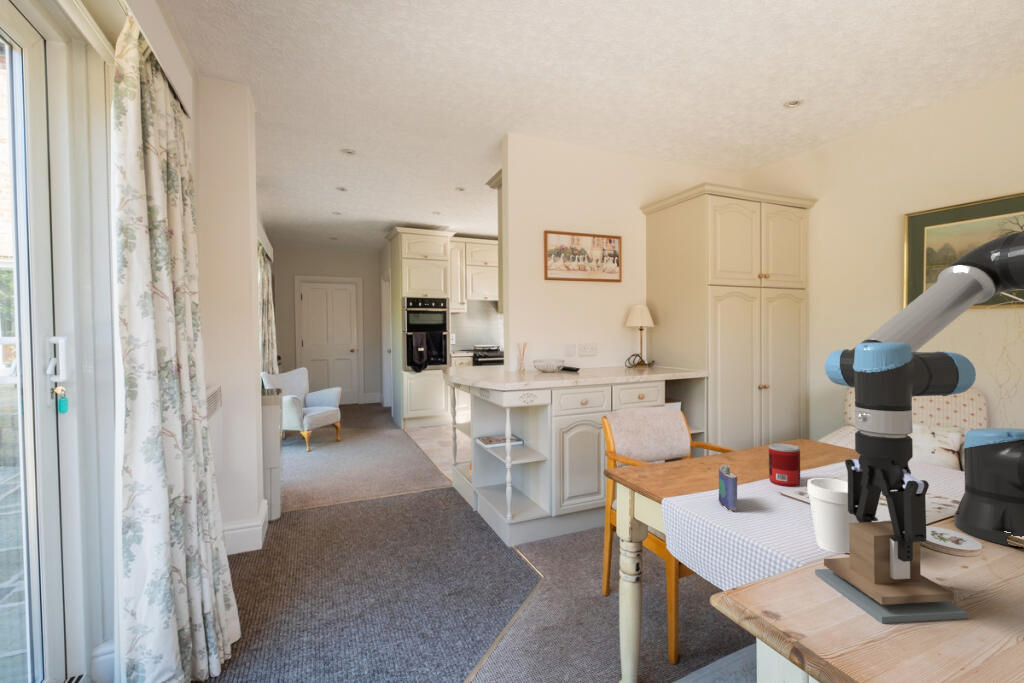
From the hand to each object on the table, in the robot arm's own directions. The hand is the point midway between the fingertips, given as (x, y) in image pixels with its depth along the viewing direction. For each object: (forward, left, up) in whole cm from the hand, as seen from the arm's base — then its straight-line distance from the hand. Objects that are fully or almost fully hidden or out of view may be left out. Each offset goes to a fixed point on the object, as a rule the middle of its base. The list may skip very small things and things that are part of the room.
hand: (884, 568), depth 76 cm
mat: (0, 0, -5) cm, 5 cm away
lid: (0, 0, -2) cm, 2 cm away
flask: (+5, -41, -5) cm, 42 cm away
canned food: (-21, -56, -5) cm, 60 cm away
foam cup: (-5, -17, -5) cm, 18 cm away
